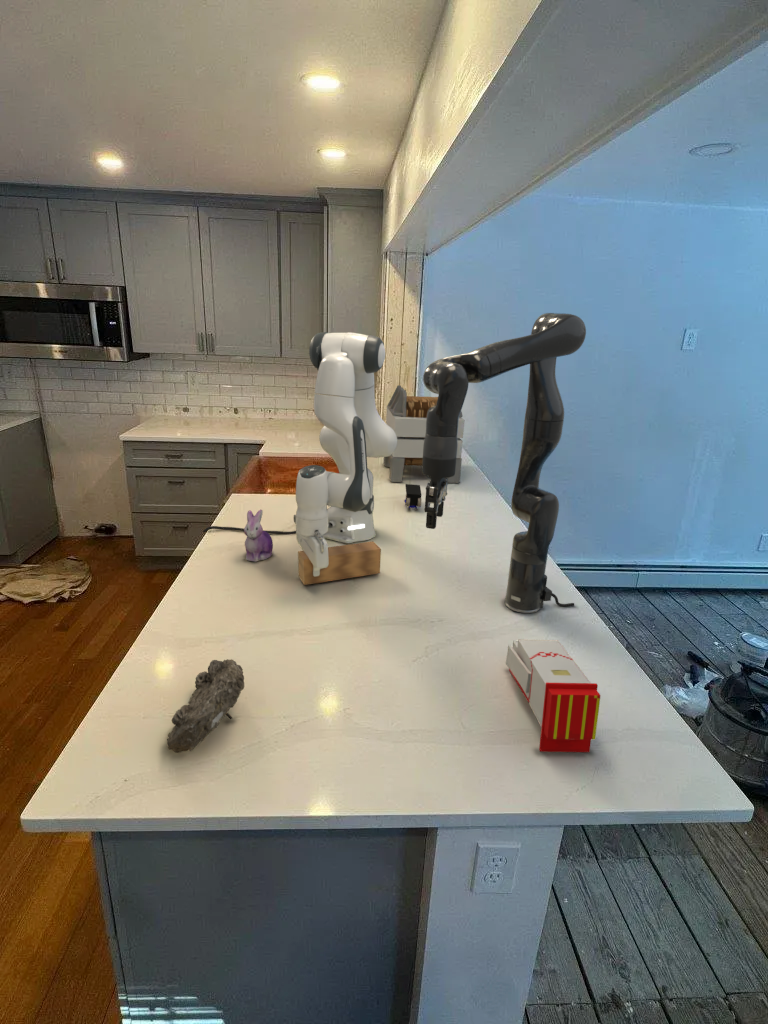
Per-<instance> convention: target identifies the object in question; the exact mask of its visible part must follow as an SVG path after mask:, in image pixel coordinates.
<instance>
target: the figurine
mask: <svg viewBox="0 0 768 1024" xmlns="http://www.w3.org/2000/svg"><path fill="white" fill-rule="evenodd" d="M263 513H264V512H263V509H261V508H260V509H259V510H258V511H257V512H256V513H255V514H254V513H253V511H252V510H247V513H246V521H247V522H246V524H245V526H244V531H243V532H244V535H245V536H246V538H245V540H244V549H245V551H246V554H245V560H246V561H250V562H259V561H264V560H267V559H269V558H270V557H272V556H273V548H274V543H273V538H272V536H271V534H269V533H267V532H266V531H267V530H265V531H263V526H262V524H261V521H262V518H263Z"/></svg>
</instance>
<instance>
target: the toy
mask: <svg viewBox="0 0 768 1024" xmlns="http://www.w3.org/2000/svg"><path fill="white" fill-rule="evenodd" d="M505 659H506V660H505V665H506V666H507V667H508V671H509V673H510V674H511V676H512V678H513V679H514V681H515V682H516V685H517V686H518V688H519V690H520V691H521V692H522V694H523V697H525V699H526V701H527V703H529V707H530V709H531V711H532V712H533V714H534V716H535V718H536V720H537V722H538V724H539V726H540V728H541V729H540V739H539V748H538V751H539V752H540V753H543V752H544V753H590V752H591V744H592V743H591V742H592V740H596V736H597V727H598V720H599V719H598V718H599V710H600V704H601V703H600V702H601V696H602V695H601V694H600V693H599V692H598V687H599V686H598V683H595V682H594V683H592V682H591V681H590V679H589V678H588V677H587V676H586V674H585V673H584V671H583V670H582V669H581V668H580V666H579V665H578V664H577V663H576V662H575V661H576V660H574V659H573V658H572V656H571V655H570V653H568V651H567V650H566V648H565V647H564V645H563V644H562V643H561V642H560V641H559V639H529V638H528V639H524V638H521V639H517V640H512V645H511V644H510V645H509V644H508V646H507V653H506V658H505Z"/></svg>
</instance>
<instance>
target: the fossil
mask: <svg viewBox="0 0 768 1024" xmlns="http://www.w3.org/2000/svg"><path fill="white" fill-rule="evenodd" d="M243 670H244V669H243V667H242V665H240V664H237V662H236V661H235V660H234V659H232V658H231V659H227V658H226V659H224V660H223V661H222V660H217V659H212V660H211V661H210V663H209V665H208V666H207V671H201V672H199V673H198V674H197V675H196V676H195V680H194V684H195V685H194V687H195V689H194V690H193V693H192V694H191V697H190V698H189V700H188V704H184V705H182V706H181V707H180V709H177V710H176V711H175V713H174V715H173V716H172V718H171V723H172V724H173V727H172V730H171V731H170V732H168V734H167V738H166V741H167V742H166V745H167V749H168V750H169V751H173V752H174V753H176V754H178V753H182V752H188V751H189V752H192V751H193V750H195V748H196V747H197V746H199V744H200V743H201V742H203V741H204V740H205V739H206V738H207V737H208V736H209V735H210V734H211V733H212V732H214V730H215V729H217V727H218V726H219V724H220V722H221V721H222V720H223V719H224V718H225V716H226V717H227V719H229V720H233V717H232V715H230V714H229V710H230V709H231V708H234V706H235V704H236V703H237V702H238V699H239V697H240V695H241V693H242V691H243V690H245V689H244V688H245V675H244V671H243Z"/></svg>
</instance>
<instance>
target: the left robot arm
mask: <svg viewBox="0 0 768 1024" xmlns="http://www.w3.org/2000/svg"><path fill="white" fill-rule="evenodd" d="M308 349H309V350H308V354H309V359H310V363H311V364H312V365H313V367H314V368H316V369H317V375H316V379H315V386H314V394H313V395H314V396H313V411H314V415H315V417H316V419H317V420H318V421H319V423H321V424H322V425H323V427H321V429H320V432H319V440H318V441H319V444H320V447H321V448H322V450H323V451H324V452H325V453H326V454H328V455H329V456H330V457H331V458H332V460H333V461H334V463H335V465H336V467H337V470H338V472H334V471H327V470H326V468H325V467H324V466H321V465H317V464H310V465H305V466H303V467H301V468H300V469H299V470H298V473H297V476H296V482H295V502H296V511H295V514H294V515H293V522H294V524H295V530H294V531H284V530H283V531H281V530H263V531H266V532H267V533H269V534H270V535H271V534H274V535H296V536H295V537H296V541H297V544H298V546H299V547H300V548H301V550H302V551H304V552H305V554H306V555H307V556H308V558H309V560H310V561H311V563H312V564H313V569H312V574H313V576H319V575H320V569H322V568H327V567H328V564H329V558H328V547H329V546H328V542H327V540H330V541H336V542H339V543H343V544H354V543H358V542H366V541H368V540H372V539H373V538H375V537H376V535H377V532H376V528H375V523H374V513H373V512H374V509H375V496H374V474H373V472H372V471H371V469H369V468H368V458H374V459H379V458H384V457H388V456H390V455H391V454H392V453H393V452H394V451H395V449H396V446H397V437H396V434H395V432H394V430H393V429H392V428H391V427H390V426H388V425H387V423H386V421H384V419H383V418H382V417H381V415H380V413H379V412H378V408H377V404H376V395H375V394H376V393H375V373H377V372H378V371H380V370H381V369H383V365H384V362H385V359H386V349H385V343H384V341H383V340H382V339H381V338H380V337H379V336H376V335H373V334H369V335H368V334H363V333H358V332H351V331H348V332H328V331H324V332H323V331H321V332H318V333H315V334H314V336H313V337H312V338H311V339H310V342H309V348H308ZM244 528H245V527H244ZM244 528H243V527H235V526H218V525H211V526H208V527H206V528H205V529H203V530H202V532H203V533H207V532H208V531H210V530H220V531H221V530H222V531H224V530H225V531H238V532H244Z"/></svg>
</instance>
